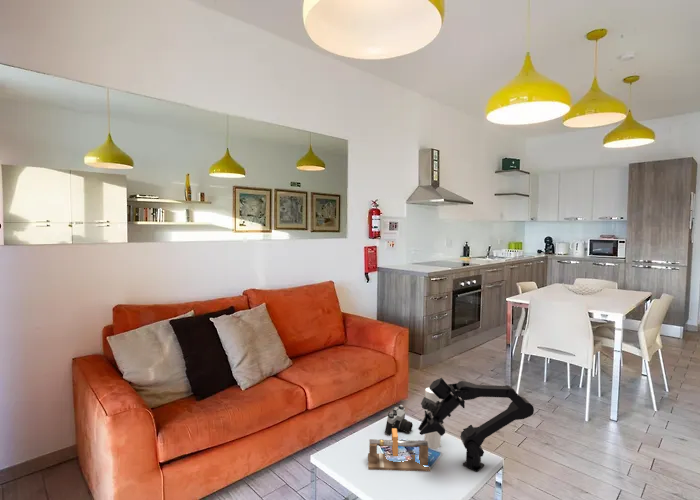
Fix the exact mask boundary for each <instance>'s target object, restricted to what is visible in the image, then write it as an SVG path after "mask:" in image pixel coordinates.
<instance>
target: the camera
mask: <svg viewBox="0 0 700 500" xmlns="http://www.w3.org/2000/svg"><path fill="white" fill-rule="evenodd" d="M405 417H406V408H405V407H404V405H402V404H400V405H398V407H397V406H395V407H394V408H393V410H392V411H389V412H388V413H387V419H386V425H385V430H384V434H385V435H386V436H388V437H389V436H392V428H397V431H400V430H401V431H404V432H405V433H407V434H410V433H411V432H412V430H413V422H411V421H409V420H407V419H406V418H405Z"/></svg>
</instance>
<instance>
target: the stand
mask: <svg viewBox="0 0 700 500" xmlns="http://www.w3.org/2000/svg"><path fill="white" fill-rule="evenodd" d="M370 440H378V439H375V438H374V439H370V438H369V439H368V441H369V444H368V445H369V450H368V451H369V453H367V461H368V462H367V464H368V465H367V467H368V468H367V470H370V471H371V470H372V471H374V470H375V471H398V472H399V471H400V472H401V471H404V472H408V471H409V472H431V467H430V465H429V467H424V466H423V465H428V462H429V447H428V446H427V445H420V447H418V451H419V452H418V455H419V460H420V464H419V463H417V462H415V455H416V454H411V456H412V458H413V459H411V460H408V461H404V462H402V461H401V462H393V461H389V460H387V459H386V457H385V454H386V453H381V452H379V453H378V446H377V444H370Z"/></svg>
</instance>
